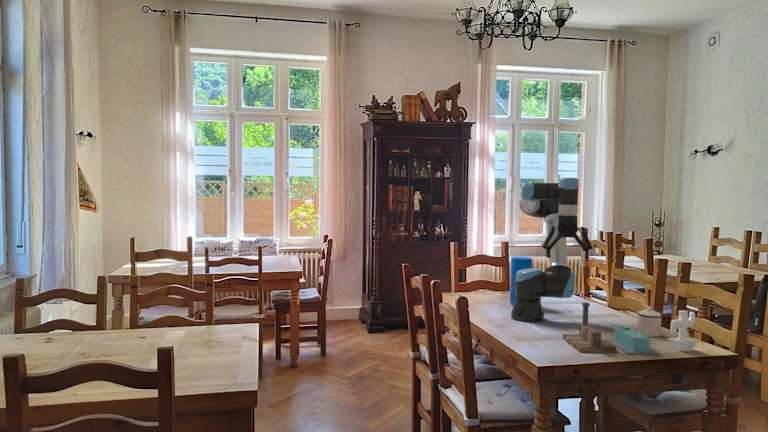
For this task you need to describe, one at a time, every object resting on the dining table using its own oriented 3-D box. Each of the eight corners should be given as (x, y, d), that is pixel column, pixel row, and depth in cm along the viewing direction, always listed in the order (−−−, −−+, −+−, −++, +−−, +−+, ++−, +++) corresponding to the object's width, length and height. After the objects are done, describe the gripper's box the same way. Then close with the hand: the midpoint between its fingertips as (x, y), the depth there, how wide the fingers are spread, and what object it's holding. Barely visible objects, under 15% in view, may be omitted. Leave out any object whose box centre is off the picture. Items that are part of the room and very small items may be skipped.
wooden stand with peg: (562, 338, 216) (563, 300, 215) (597, 339, 216) (598, 300, 215) (578, 351, 198) (580, 310, 197) (616, 352, 198) (617, 310, 197)
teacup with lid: (666, 337, 220) (667, 309, 220) (645, 337, 219) (646, 309, 219) (648, 329, 232) (649, 303, 232) (628, 330, 231) (629, 303, 231)
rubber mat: (604, 339, 216) (604, 337, 216) (634, 339, 216) (634, 338, 216) (627, 354, 196) (627, 352, 196) (659, 354, 196) (659, 353, 196)
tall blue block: (533, 305, 281) (535, 257, 280) (527, 308, 272) (528, 259, 271) (513, 302, 287) (514, 256, 286) (506, 305, 278) (508, 258, 277)
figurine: (664, 347, 205) (665, 308, 205) (685, 346, 207) (687, 308, 206) (677, 353, 198) (679, 313, 198) (699, 352, 200) (701, 312, 199)
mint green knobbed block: (614, 339, 214) (614, 326, 214) (629, 339, 214) (629, 327, 214) (633, 351, 198) (633, 337, 197) (649, 351, 198) (649, 338, 197)
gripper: (540, 215, 217) (539, 266, 218) (601, 215, 217) (600, 267, 218) (535, 214, 224) (533, 264, 225) (594, 215, 224) (592, 265, 225)
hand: (566, 266), depth 222 cm, fingers open, 13 cm apart
